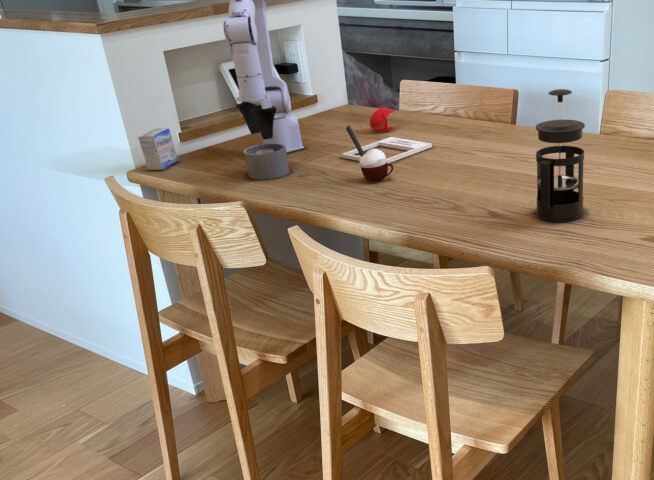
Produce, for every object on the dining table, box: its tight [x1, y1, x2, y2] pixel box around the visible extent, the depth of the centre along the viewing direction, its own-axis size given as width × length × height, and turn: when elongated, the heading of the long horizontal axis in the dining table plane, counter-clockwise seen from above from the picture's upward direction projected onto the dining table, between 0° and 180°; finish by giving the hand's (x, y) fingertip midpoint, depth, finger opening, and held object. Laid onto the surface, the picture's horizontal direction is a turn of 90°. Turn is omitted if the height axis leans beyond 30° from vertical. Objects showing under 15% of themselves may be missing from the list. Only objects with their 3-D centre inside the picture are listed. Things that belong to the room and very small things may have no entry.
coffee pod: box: [256, 149, 274, 154], centre depth 182 cm, size 4×4×5 cm
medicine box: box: [137, 127, 179, 171], centre depth 194 cm, size 8×4×9 cm, turn 168°
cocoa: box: [345, 125, 394, 183], centre depth 171 cm, size 10×6×12 cm, turn 50°
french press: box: [535, 88, 586, 223], centre depth 141 cm, size 12×9×23 cm
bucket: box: [243, 143, 291, 181], centre depth 182 cm, size 10×10×6 cm
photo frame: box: [341, 136, 433, 164], centre depth 193 cm, size 15×1×18 cm
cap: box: [369, 107, 395, 133], centre depth 212 cm, size 8×6×6 cm
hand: (261, 135), depth 179 cm, fingers open, 7 cm apart
